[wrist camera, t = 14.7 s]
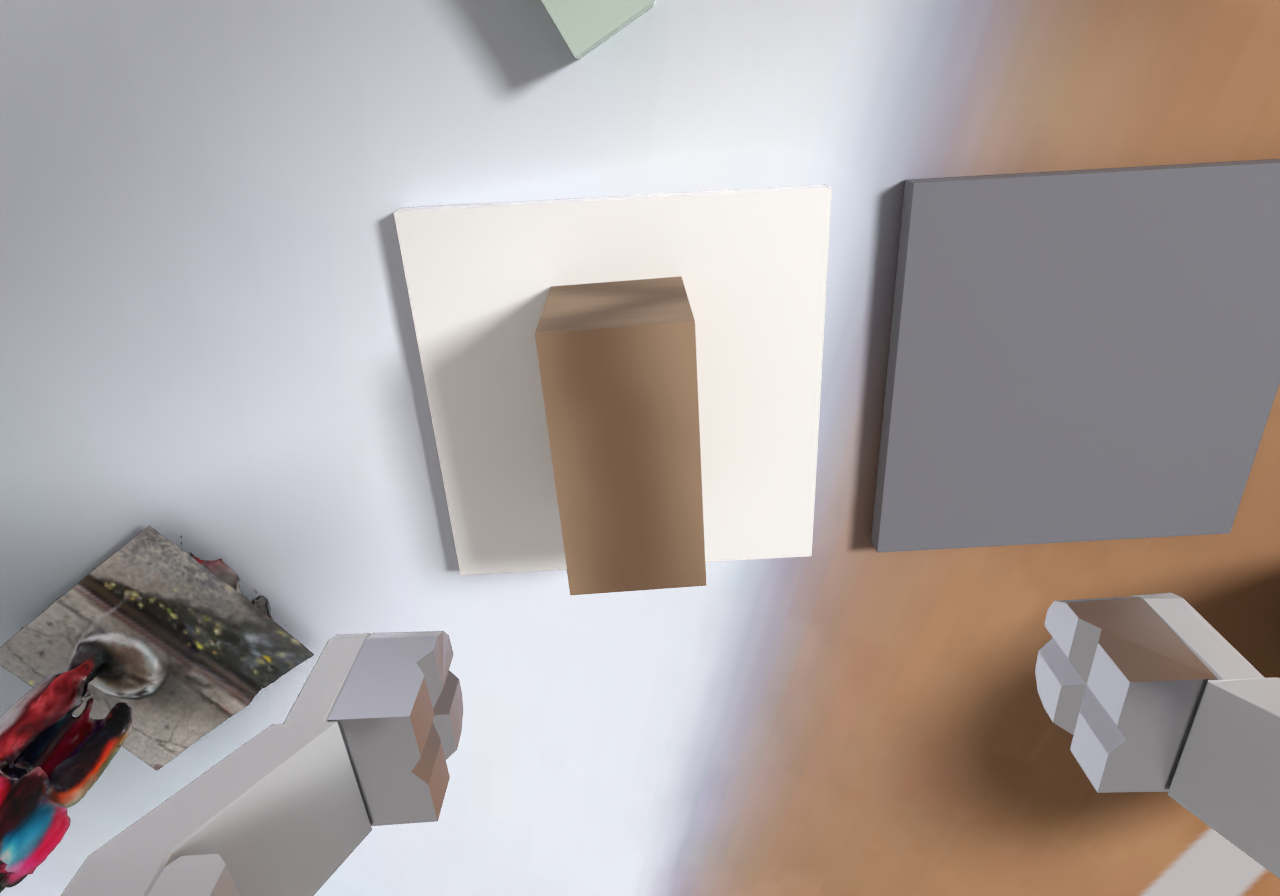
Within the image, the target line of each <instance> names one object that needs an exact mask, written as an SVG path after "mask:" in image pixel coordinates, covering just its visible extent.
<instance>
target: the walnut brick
mask: <svg viewBox="0 0 1280 896" xmlns="http://www.w3.org/2000/svg"><path fill="white" fill-rule="evenodd" d="M535 340H536V347H537V354H538V362H539V369H540V376H541V383H542V391H543V398H544V405H545V413H546V420H547V427H548V435H549V442H550V449H551V457H552V464H553V471H554V478H555V486H556V493H557V500H558V508H559V515H560V522H561V530H562V537H563V544H564V551H565V559H566V566H567V573H568V581H569V588H570V595H580V594H594V593H608V592H622V591H636V590H649V589H663V588H677V587H691V586H705V585H706V570H705V547H704V523H703V500H702V476H701V453H700V429H699V406H698V382H697V359H696V335H695V320H694V317H693V313H692V310H691V307H690V303H689V300H688V297H687V293H686V290H685V287H684V283H683V280H682V277H681V276H680V277H667V278H654V279H641V280H628V281H615V282H602V283H589V284H577V285H564V286H551V287H550V290H549V293H548V296H547V299H546V302H545V305H544V308H543V311H542V314H541V316H540V319H539V322H538V325H537V328H536V331H535Z"/></svg>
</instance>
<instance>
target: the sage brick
mask: <svg viewBox="0 0 1280 896" xmlns="http://www.w3.org/2000/svg"><path fill="white" fill-rule="evenodd" d="M541 1H542V3H543V4H544V6H545V8H546V9H547V11H548V13H549V15H550V16H551V18H552V20H553V21H554V23H555V25H556V26H557V28H558V30H559V32H560V33H561V35H562V37H563V38H564V40H565V42H566V43H567V45H568V47H569V49H570V50H571V52H572V54H573V55H574V57H575V58H578V59H581V58H582V57H583V56H585V55H586V54H588V53H589V52H590V51H592V50H593V49H595V48H596V47H597V46H599V45H600V44H602V43H603V42H604V41H606V40H607V39H609V38H610V37H611V36H613V35H614V34H616V33H617V32H618V31H620V30H621V29H623V28H624V27H626V26H627V25H628V24H630V23H631V22H633V21H634V20H635V19H637V18H638V17H640V16H641V15H642V14H644V13H645V12H647V11H648V10H649V9H651V8H652V7H653V5H654V2H655V0H541Z"/></svg>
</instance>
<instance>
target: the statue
mask: <svg viewBox="0 0 1280 896" xmlns="http://www.w3.org/2000/svg"><path fill="white" fill-rule="evenodd" d="M181 539H182V535H181ZM181 545H182V542H181ZM180 547H181V546H180ZM180 547H178V546H177V545H176V544H175V543H173V542H171V541H169V540H168V539H166V538H165V537H163V536H162V535H161V534H160V533H159V532H157V531H156V530H154V529H153V528H152V527H151V526H148V527H147V528H145V529H144V530H143V531H142V532H141V533H139V534H138V535H137V536H136V537H134V538H133V539H132V540H131V541H129V542H128V543H127V544H126V545H124V546H123V547H122V548H121V549H119V550H118V551H117V552H116V553H114V554H113V555H112V556H111V557H109V558H108V559H107V560H106V561H104V562H103V563H102V564H101V565H99V566H98V567H97V568H95V569H93V570H92V572H91V573H89V574H88V575H87V576H86V577H85V578H84V579H83V580H81V581H80V582H79V583H78V584H77V585H76V586H75V587H73V588H72V589H71V590H70V591H69V592H67V593H66V594H65V595H64V596H62V597H61V598H60V597H59V598H58V599H57V600H56V601H55V603H52V604H51V605H49V608H48V609H46V610H45V611H44V610H43V611H42V612H43V613H41V614H40V615H39V616H38V617H37V618H35V619H34V620H33V621H32V622H30V623H29V624H28V625H27V626H26V627H22V628H21V629H20V631H19V632H18V633H17V634H16V635H15V636H13V637H12V638H11V639H10V640H8V641H7V642H6V643H5V644H4V645H2V646H1V647H0V666H2V667H3V668H5V669H6V670H8V671H9V672H11V673H13V674H14V675H16V676H17V677H19V678H20V679H21V680H23V681H24V682H26V683H27V684H28V685H30V686H31V687H33V689H32V690H30V691H29V692H28V693H27V694H26V695H24V696H23V697H22V698H21V699H19V700H18V701H17V702H16V703H15V704H14V705H13V706H12V707H11V708H10V709H8V710H7V711H6V712H5V714H4V715H3V716H2V717H1V718H0V893H1V891H2V890H4V889H5V887H13V886H15V885H17V884H18V883H20V882H21V881H22V880H23V879H24V878H25V877H26V876H27V875H28V874H33V872H34V870H35V869H36V867H37V866H39V865H40V864H41V863H42V862H43V861H44V860H45V859H46V858H47V856H48V855H49V854H50V853H51V852H52V851H53V850H54V849H55V847H56V846H57V845H58V844H59V843H60V841H61V840H62V838H63V836H64V834H65V833H66V831H67V830H68V828H69V826H70V818H69V817H68V815H67V808H68V807H71V806H73V805H74V804H76V803H77V802H79V801H80V800H81V799H82V798H83V797H84V795H85V794H86V793H87V791H88V790H89V789H90V788H91V787H92V786H93V784H94V783H95V782H96V781H97V780H98V778H99V777H100V775H101V774H102V773H103V771H104V770H105V769H106V767H107V766H108V764H109V763H110V761H111V760H112V758H113V757H114V756H115V754H116V753H117V752H118V751H119V749H120V747H121V746H123V747H124V748H126V749H127V750H129V751H130V752H131V753H133V754H134V755H136V756H137V757H139V758H140V759H141V760H143V761H144V762H145V763H146V764H148V765H149V766H151V767H152V768H154V769H155V770H158V769H160V768H161V767H163V766H164V765H165V764H167V763H168V762H170V761H171V760H172V759H174V758H175V757H176V756H178V755H179V754H180V753H181V752H183V751H184V750H185V749H187V748H188V747H189V746H190V745H192V744H193V743H194V742H196V741H197V740H198V739H200V738H201V737H203V736H204V735H205V734H207V733H209V732H210V731H211V730H213V729H214V728H216V727H217V726H218V725H220V724H221V723H222V722H224V721H225V720H227V719H228V718H230V717H231V716H233V715H234V714H236V713H237V712H239V711H240V710H242V709H243V708H245V707H246V706H247V705H249V704H250V703H251V701H252V699H253V698H254V697H255V695H256V694H257V693H258V692H259V691H260V690H261V689H262V688H265V687H266V686H268V685H269V684H271V683H273V682H275V681H276V680H277V679H278V678H279V677H281V676H282V675H284V674H285V673H287V672H288V671H290V670H291V669H293V668H294V667H296V666H297V665H299V664H300V663H302V662H304V661H305V660H307V659H308V658H310V657H312V656H313V655H314V654H313V653H312V652H310V651H309V650H308V649H307V648H306V647H305V646H303V645H302V644H301V643H300V642H299V641H297V640H296V639H295V638H294V637H293V636H291V635H290V634H289V633H288V632H286V631H285V630H284V629H283V628H282V627H280V626H279V625H278V624H277V623H275V622H274V621H273V619H272V617H271V614H270V606H269V603H268V600H267V599H266V598H265V597H263V596H261V597H260V598H259V599H258V600H255V601H254V603H255V605H254V604H253V603H252V602H250V601H249V600H248V599H247V598H245V597H244V596H243V595H242V592H241V590H240V588H239V577H238V575H237V574H236V573H235V572H234V571H232V570H231V569H230V568H229V567H228V566H226V565H225V564H224V563H223V561H222V559H218V560H215V561H204V560H200V559H198V558H196V557H194V555H192V553H191V555H189V554H188V553H186V552H185V551H184V550H182V549H181V548H180ZM255 592H256V593H257V591H256V589H255ZM91 672H92V673H91ZM261 687H262V688H261ZM72 714H74V715H75V716H77V717H73V716H72Z"/></svg>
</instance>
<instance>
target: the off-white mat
mask: <svg viewBox="0 0 1280 896" xmlns="http://www.w3.org/2000/svg"><path fill="white" fill-rule="evenodd" d="M831 193H832V188H831V187H829V186H827V185H825V184H823V185H805V186H788V187H770V188H752V189H734V190H716V191H698V192H681V193H663V194H645V195H627V196H609V197H592V198H574V199H556V200H538V201H520V202H502V203H485V204H467V205H449V206H431V207H413V208H400V209H398V210H397V211H395V212H394V217H395V223H396V228H397V234H398V239H399V245H400V250H401V255H402V261H403V266H404V272H405V277H406V283H407V288H408V293H409V299H410V304H411V310H412V315H413V321H414V326H415V331H416V337H417V342H418V348H419V353H420V359H421V364H422V369H423V375H424V380H425V386H426V391H427V397H428V402H429V407H430V413H431V418H432V424H433V429H434V435H435V440H436V445H437V451H438V456H439V462H440V467H441V473H442V478H443V483H444V489H445V494H446V500H447V505H448V511H449V516H450V521H451V527H452V532H453V538H454V543H455V549H456V554H457V559H458V565H459V570H460V575H475V574H493V573H511V572H529V571H548V570H566V569H567V566H566V559H565V551H564V544H563V537H562V530H561V522H560V515H559V508H558V500H557V493H556V486H555V478H554V471H553V464H552V457H551V449H550V442H549V435H548V427H547V420H546V413H545V405H544V398H543V391H542V383H541V376H540V369H539V362H538V354H537V347H536V340H535V331H536V328H537V325H538V322H539V319H540V316H541V314H542V311H543V308H544V305H545V302H546V299H547V296H548V293H549V290H550V287H551V286H564V285H577V284H589V283H602V282H615V281H628V280H641V279H654V278H667V277H680V276H681V277H682V280H683V283H684V287H685V290H686V293H687V297H688V300H689V303H690V307H691V310H692V313H693V317H694V320H695V335H696V359H697V382H698V406H699V429H700V453H701V476H702V500H703V523H704V547H705V562H712V561H730V560H749V559H767V558H785V557H804V556H812V539H813V520H814V502H815V484H816V466H817V448H818V429H819V411H820V393H821V375H822V357H823V338H824V320H825V302H826V284H827V266H828V247H829V229H830V211H831Z"/></svg>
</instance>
